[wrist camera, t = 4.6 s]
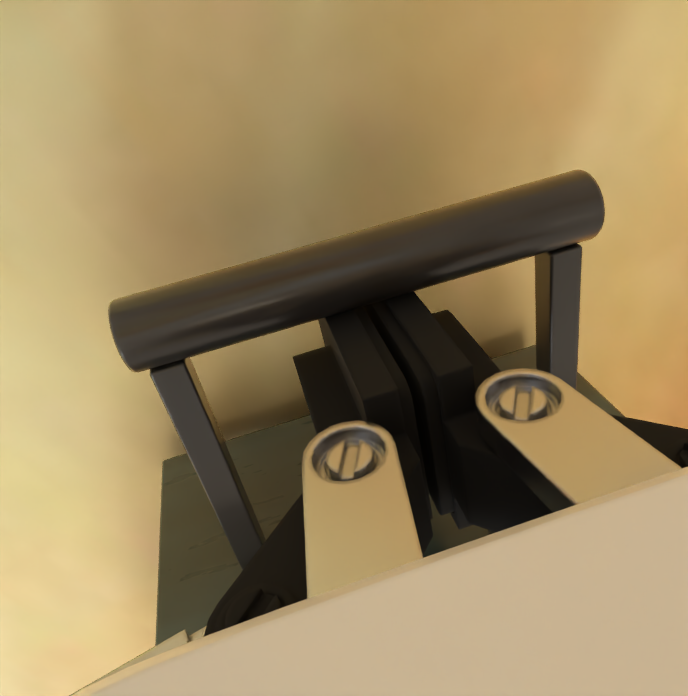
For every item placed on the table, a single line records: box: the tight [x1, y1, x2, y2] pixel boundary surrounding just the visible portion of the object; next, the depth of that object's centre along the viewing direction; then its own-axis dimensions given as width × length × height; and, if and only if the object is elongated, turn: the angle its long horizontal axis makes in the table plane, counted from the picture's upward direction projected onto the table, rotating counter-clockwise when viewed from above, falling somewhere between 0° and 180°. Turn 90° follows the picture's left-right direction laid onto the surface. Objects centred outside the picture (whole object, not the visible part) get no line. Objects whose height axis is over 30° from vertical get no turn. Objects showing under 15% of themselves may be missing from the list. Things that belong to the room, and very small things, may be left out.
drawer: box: [108, 170, 625, 646], centre depth 15 cm, size 19×11×7 cm, turn 10°
